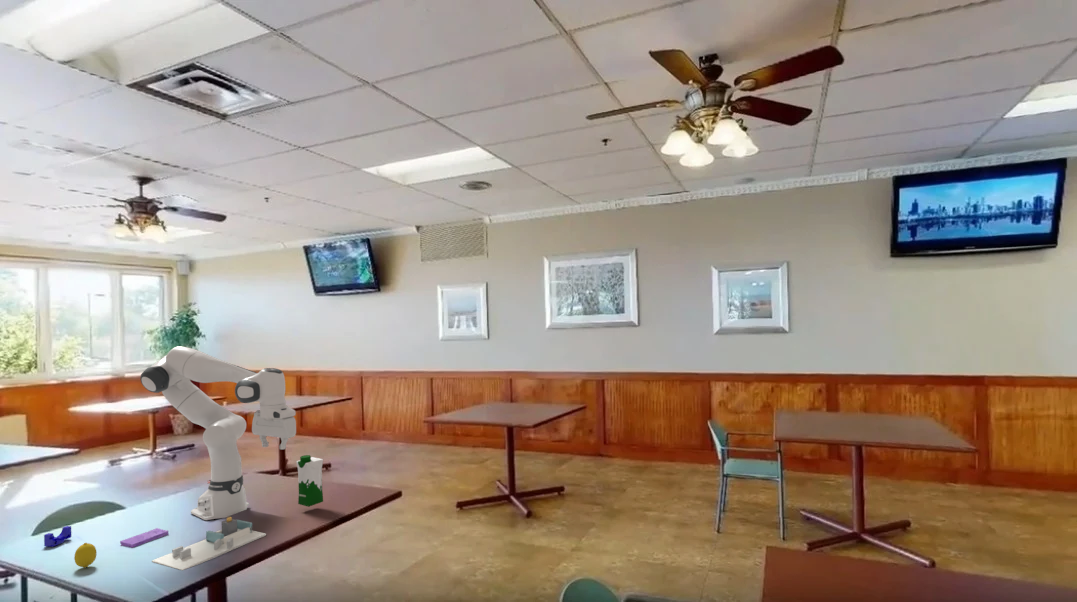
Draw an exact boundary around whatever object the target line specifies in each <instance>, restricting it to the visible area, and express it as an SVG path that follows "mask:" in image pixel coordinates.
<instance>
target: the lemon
mask: <svg viewBox="0 0 1077 602" xmlns="http://www.w3.org/2000/svg"><path fill="white" fill-rule="evenodd" d="M73 559H74V563H75V564H76V565H77V567H80V568H81V567H82V568H83V569H86V568H85V567H87V568H88V567H90V566H91V565H92V564H93V563H94V562H95V561H96V559H97V548H96V547H95V545H94V544H92V543H87V542H83V544H82V545H79V546H78V547H77V548H76V550H75V552H74V558H73Z"/></svg>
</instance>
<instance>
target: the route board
mask: <svg viewBox="0 0 1077 602" xmlns="http://www.w3.org/2000/svg"><path fill="white" fill-rule="evenodd" d="M265 536H267V533H265V532H262V531H261V532H260V531H256V530H252V532H251V533H249V534H247V535H244V536H242V537H239V538H237V539H235V540H233V538H230V539H229V540H228V541H227V543H225V544H223V545H221V539H217V540H216V541H215V542H214V543H211V542H207V541H206V538H205V539H203V540H200V541H198V542H195V543H193V544H190V545H187V546H185V547H184V545H180V546H178V547H175V548H172V549H171V550H172V552H170V553H167V554H165V555H162V556H160V557H157V558H155V559H152V560H151V563H154V564H158V565H161V566H165V567H168V568H172V569H176V570H180V571H185V570H187V569H190V568H192V567H195V566H198V565H201V564H203V563H205V562H207V561H210V560H213V559H215V558H217V557H219V556H222V555H224V554H226V553H228V552H232V551H233V550H235V549H238V548H240V547H242V546H244V545H247V544H250V543H251V542H255V541H256V540H258V539H260V538H263V537H265Z"/></svg>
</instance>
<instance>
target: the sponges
mask: <svg viewBox="0 0 1077 602" xmlns="http://www.w3.org/2000/svg"><path fill="white" fill-rule="evenodd" d="M168 535H169V530H168V529H167V530H166V529H161V528H158V527H155V528H154V529H151V530H148V531H145V532H143V533H140V534H137V535H134V536H131V537H129V538H125V539H122V540H120V541H119V543H120V547H122V546H124V547H128V548H135V547H138V546H141V545H144V544H145V543H149V542H152V541H153V540H157V539H159V538H162V537H166V536H168Z"/></svg>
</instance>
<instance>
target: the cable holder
mask: <svg viewBox="0 0 1077 602" xmlns="http://www.w3.org/2000/svg"><path fill="white" fill-rule="evenodd" d="M71 538H72V526H71V525H65V526H62V529H61V532H60V534H59V535H57V536H55V535H54V533H50V532H48V533H46V534H44V535H43V543H44V545H43V546H44V547H52V548H53V547H56V546H58V545H60V544H62V543H64V542H65V540H68V539H71Z"/></svg>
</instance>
